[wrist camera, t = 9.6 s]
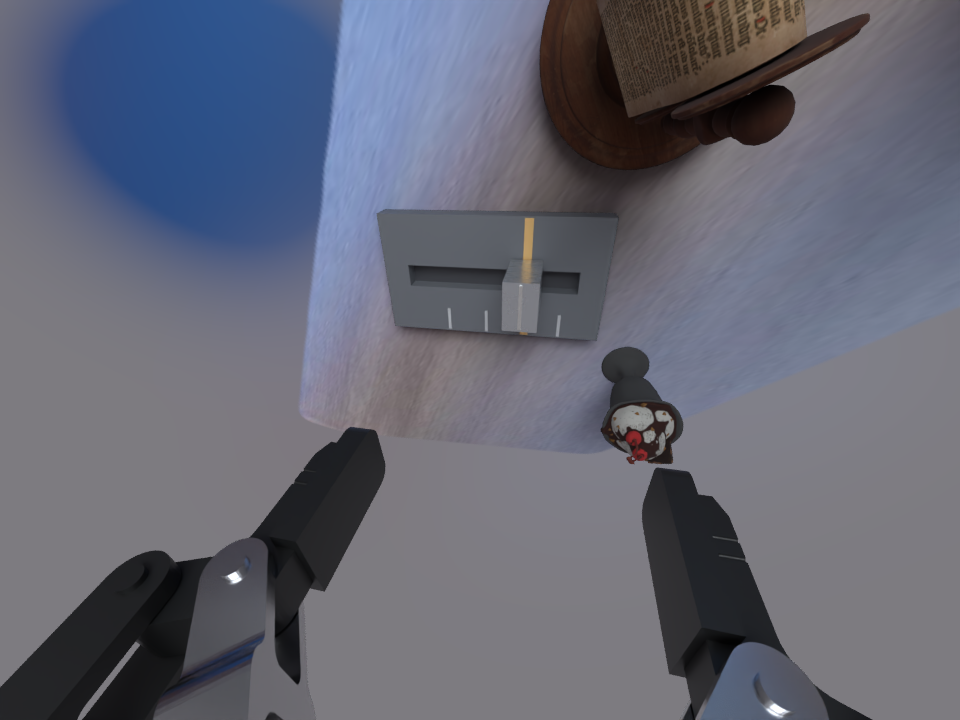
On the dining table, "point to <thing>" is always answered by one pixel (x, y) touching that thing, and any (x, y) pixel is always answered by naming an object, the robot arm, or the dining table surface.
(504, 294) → the fader tab
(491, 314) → the slider plate with stripes
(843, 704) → the robot arm
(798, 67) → the scroll
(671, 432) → the sundae
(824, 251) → the dining table surface
